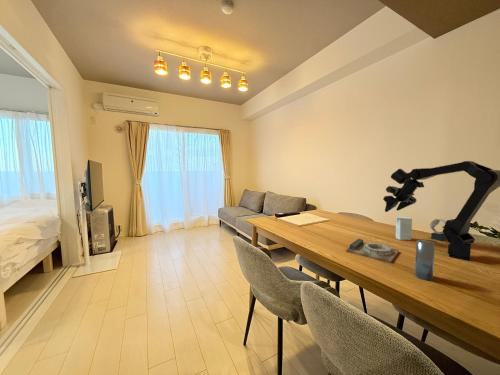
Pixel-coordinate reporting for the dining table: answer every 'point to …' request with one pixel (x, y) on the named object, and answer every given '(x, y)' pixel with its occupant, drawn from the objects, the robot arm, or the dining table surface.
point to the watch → (436, 234)
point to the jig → (373, 250)
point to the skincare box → (403, 228)
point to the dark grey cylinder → (424, 259)
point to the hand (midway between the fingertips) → (391, 210)
